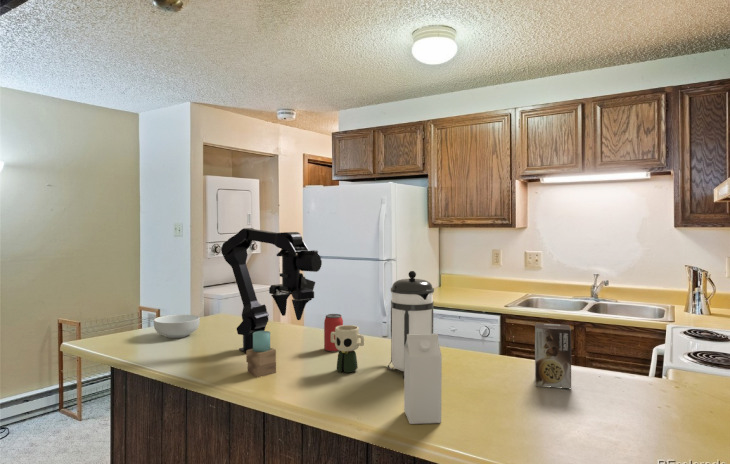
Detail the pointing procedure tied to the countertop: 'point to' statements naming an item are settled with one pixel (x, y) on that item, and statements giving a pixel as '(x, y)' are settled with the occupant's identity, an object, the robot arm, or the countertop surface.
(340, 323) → the beer can
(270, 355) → the stepped brown block
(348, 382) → the countertop surface
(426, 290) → the coffee press
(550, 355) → the cookie box
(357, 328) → the character mug
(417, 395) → the milk carton
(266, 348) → the teal rounded cylinder
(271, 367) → the bottom slab
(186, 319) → the cereal bowl
